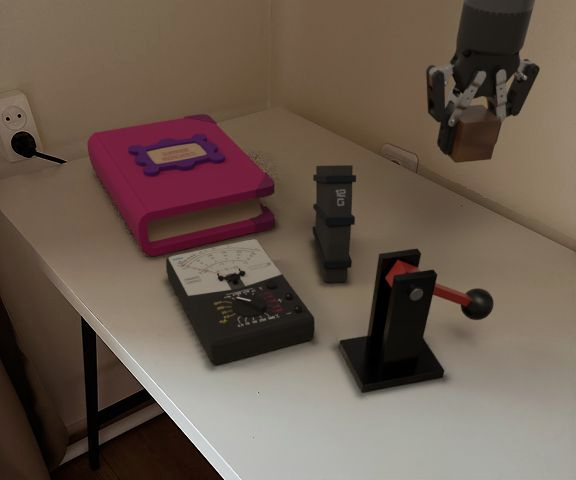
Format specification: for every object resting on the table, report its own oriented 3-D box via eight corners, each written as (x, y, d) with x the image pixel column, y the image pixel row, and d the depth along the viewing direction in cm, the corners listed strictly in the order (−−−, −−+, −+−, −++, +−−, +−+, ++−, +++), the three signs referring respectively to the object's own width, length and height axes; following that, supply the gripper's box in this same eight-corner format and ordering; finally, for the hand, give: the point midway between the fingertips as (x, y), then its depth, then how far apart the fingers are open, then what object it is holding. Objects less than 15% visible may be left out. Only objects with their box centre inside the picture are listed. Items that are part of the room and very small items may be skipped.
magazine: (326, 287, 83) (326, 166, 78) (312, 272, 95) (311, 166, 90) (354, 286, 83) (356, 165, 78) (337, 271, 95) (337, 165, 90)
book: (143, 260, 89) (135, 211, 84) (92, 174, 107) (83, 129, 101) (278, 227, 96) (278, 180, 91) (209, 152, 114) (206, 109, 108)
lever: (470, 310, 75) (490, 286, 74) (485, 329, 73) (505, 305, 71) (379, 278, 68) (398, 251, 66) (392, 298, 66) (412, 270, 64)
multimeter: (212, 369, 74) (210, 335, 70) (166, 279, 86) (162, 247, 82) (315, 341, 78) (317, 308, 74) (257, 259, 90) (256, 227, 86)
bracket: (414, 334, 79) (435, 237, 69) (442, 378, 73) (469, 279, 64) (338, 347, 77) (349, 249, 67) (361, 393, 71) (376, 293, 62)
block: (473, 142, 84) (482, 104, 81) (491, 159, 81) (501, 120, 77) (438, 146, 83) (446, 107, 80) (455, 163, 80) (463, 123, 76)
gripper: (453, 12, 66) (425, 168, 78) (575, 6, 69) (530, 158, 81) (425, -7, 71) (402, 142, 83) (539, -12, 74) (501, 133, 86)
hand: (465, 149), depth 82 cm, fingers closed on block, 5 cm apart
